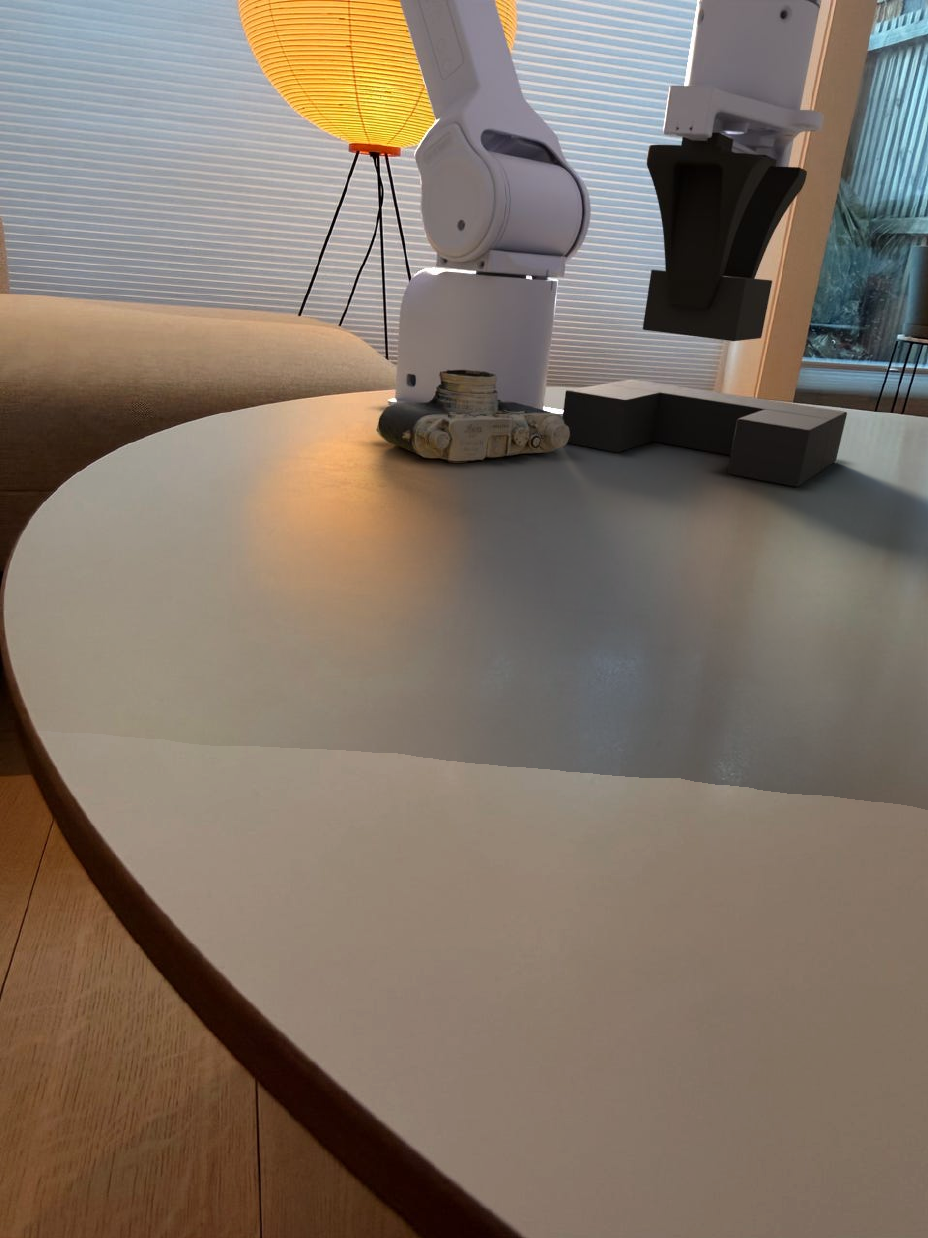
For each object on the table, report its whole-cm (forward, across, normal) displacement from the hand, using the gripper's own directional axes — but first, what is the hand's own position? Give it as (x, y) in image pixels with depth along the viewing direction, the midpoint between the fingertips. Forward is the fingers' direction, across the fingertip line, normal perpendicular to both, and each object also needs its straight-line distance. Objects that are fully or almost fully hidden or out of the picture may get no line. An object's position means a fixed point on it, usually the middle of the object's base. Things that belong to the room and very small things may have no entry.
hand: (705, 306), depth 50 cm
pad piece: (+1, 0, 0) cm, 1 cm away
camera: (+9, -7, +9) cm, 14 cm away
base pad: (+8, +4, 0) cm, 9 cm away
